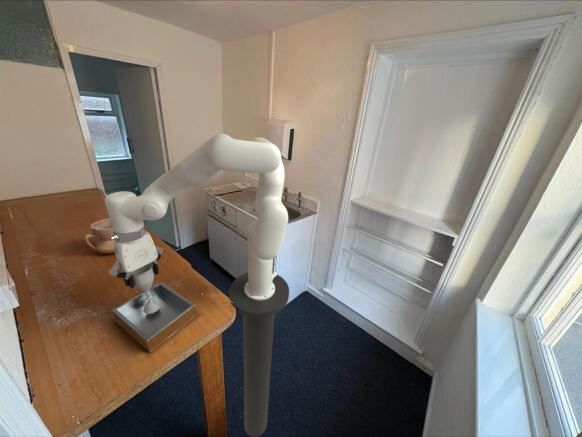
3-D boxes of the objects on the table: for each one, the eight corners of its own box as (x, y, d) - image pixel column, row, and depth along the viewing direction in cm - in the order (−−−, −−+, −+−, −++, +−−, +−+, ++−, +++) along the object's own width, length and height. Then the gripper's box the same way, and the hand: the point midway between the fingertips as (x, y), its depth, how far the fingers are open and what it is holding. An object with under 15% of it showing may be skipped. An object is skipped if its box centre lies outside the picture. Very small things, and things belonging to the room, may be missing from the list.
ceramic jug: (129, 237, 125) (123, 213, 119) (138, 248, 117) (132, 223, 111) (86, 249, 113) (77, 223, 107) (93, 263, 105) (84, 235, 98)
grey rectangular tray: (163, 292, 92) (160, 281, 90) (196, 315, 84) (195, 304, 81) (115, 321, 79) (111, 310, 76) (150, 352, 70) (146, 341, 68)
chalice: (145, 319, 78) (132, 277, 70) (136, 309, 82) (123, 268, 74) (166, 306, 83) (157, 266, 76) (157, 297, 87) (147, 258, 79)
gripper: (103, 250, 61) (121, 300, 68) (165, 225, 74) (174, 269, 82) (90, 241, 64) (108, 290, 72) (152, 219, 78) (161, 262, 85)
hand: (143, 278), depth 77 cm, fingers closed on chalice, 7 cm apart
